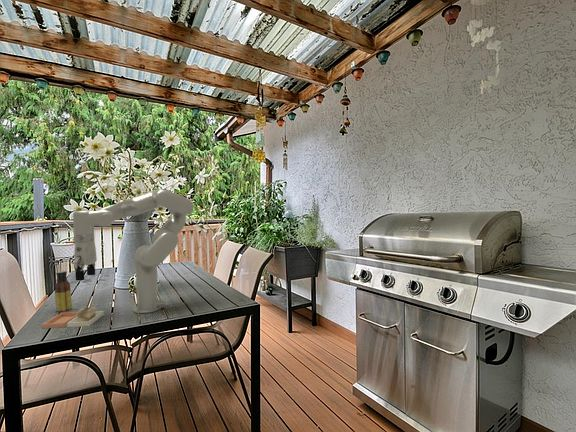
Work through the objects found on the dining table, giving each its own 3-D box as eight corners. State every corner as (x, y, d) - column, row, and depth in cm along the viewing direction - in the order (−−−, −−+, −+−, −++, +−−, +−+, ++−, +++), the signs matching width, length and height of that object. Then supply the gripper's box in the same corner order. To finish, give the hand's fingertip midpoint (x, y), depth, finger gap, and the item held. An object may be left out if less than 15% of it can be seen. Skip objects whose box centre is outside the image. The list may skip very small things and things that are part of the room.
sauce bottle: (69, 308, 157) (68, 269, 156) (73, 311, 153) (72, 270, 152) (53, 312, 152) (52, 271, 151) (57, 315, 148) (56, 273, 147)
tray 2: (103, 316, 147) (103, 310, 146) (89, 327, 133) (89, 321, 133) (84, 317, 145) (84, 311, 145) (67, 328, 132) (67, 323, 131)
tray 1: (81, 317, 145) (81, 311, 145) (64, 329, 131) (64, 323, 131) (61, 318, 144) (61, 312, 144) (42, 330, 130) (42, 324, 130)
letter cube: (95, 318, 142) (95, 306, 142) (90, 322, 137) (89, 310, 137) (83, 318, 141) (83, 307, 141) (77, 322, 136) (77, 311, 136)
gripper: (83, 240, 130) (85, 282, 130) (102, 236, 147) (103, 272, 148) (63, 241, 129) (65, 282, 129) (85, 236, 146) (86, 273, 147)
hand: (85, 277), depth 138 cm, fingers open, 9 cm apart
